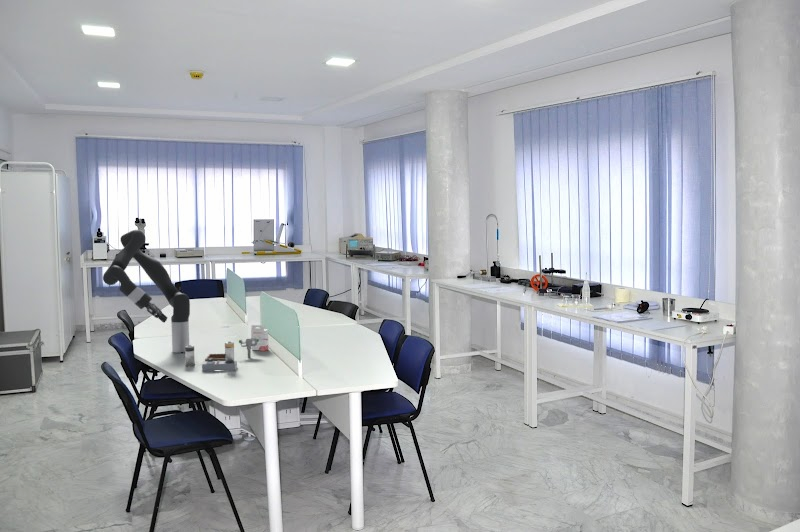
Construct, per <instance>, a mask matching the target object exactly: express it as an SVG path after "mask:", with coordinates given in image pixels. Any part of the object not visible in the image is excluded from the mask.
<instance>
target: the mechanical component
mask: <svg viewBox="0 0 800 532" xmlns="http://www.w3.org/2000/svg"><path fill="white" fill-rule="evenodd" d="M252 341H254V343H252ZM257 342H259V339H257V338H252V339H251V338H246V339H245V341H243V340H242V339H239V340H238V343H239V344H240V346H241V348H246V350H247V358H248V357H250V358H251V356H252V355H251V351H252V346H256V345H257Z"/></svg>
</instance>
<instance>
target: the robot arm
mask: <svg viewBox="0 0 800 532" xmlns="http://www.w3.org/2000/svg"><path fill="white" fill-rule="evenodd" d="M120 243H121V245H122V247H123V248H122V249H121V250H120V251H119V252H118V253H117V254H116V255H115V257H114V259H113V260H112V263H110V266H109V267H108V268H107V269H106V271H105V272H104V273H103V276H102V279H103V283H104V284H106V285H108V286H113V285H116V284H117V283H118V282H119V284H120V286H119V288H118V289H119V291H120V293H122V294H123V295H125V296H126V297H127V298H128V300H130V302H132V303H133V304H134V305H136V306H137V307H138V308H139V309H140V310H143V309H144V308H146V311H147V313H149V314H151V315H152V316H154V319H155V318H156V319H158V320H160V321H161V322H162V323H166V322H167V319H168V316H167V315H165V314H164V313H163V312H162V310H161V309H160V308H159V307H158V306H157V305H156V304H155V303H152V302H151V301H152V299H153V298H152V297H151V296H150V295H149V294H148V293H147V292H145V291H144V290H143V289H142V288H141V287H139V286H138V285H137V284H136V283H134V282H133V281H132V280H131V279H130V277H129V275H128V274H127V272H126V271H125V270H126V269H127V267H128V265H129V264H130V262H131V261H132V258H133V259H134V260H135V261H136V262H137V263H138V265H140V267H141V268H142V270H144V272H145V273H146V275H147V276H148V278H149V279H150V280H151V281H152V282H153V284H154V285H156V287H157V288H158V289H159V290H160V292H162V295H163V296H165V299H166V301H167V302H168V303H169V305H170V306H171V307H172V315H171V318H170V319H171V320H170V321H171V345H172V347H171V351H172V353H175V354H176V353H177V354H181V352H183V353H185V346H188V345H190V321H189V319H190V315H191V312H190V311H191V310H190V309H191V308H190V307H191V301H190V297H189V296H188V294H186V293H182V292H181V291H180V290H179V289H178V288H177V287H176V286H175V285H174V283H173V282H172V279H171V278H170V274H169V273H168V271H167V270H166V268H165V267H164V265H163V264H162V262H160V261H159V260H157V259H156V258H154V257H151V256H149V255H148V254H145V253H144V252H143V251H142V250H141V248H142V246H143V245H145V243H146V235H145V233H144V232H143V231H142V230H140V229H133V230H131V231H129V232H127V233H124V234H122V235H121V237H120Z"/></svg>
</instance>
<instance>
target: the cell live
mask: <svg viewBox="0 0 800 532" xmlns="http://www.w3.org/2000/svg"><path fill="white" fill-rule="evenodd" d="M224 354H225V363H234V361H235V342H234V341H226V342H224Z"/></svg>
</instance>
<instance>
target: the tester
mask: <svg viewBox="0 0 800 532" xmlns="http://www.w3.org/2000/svg"><path fill="white" fill-rule="evenodd" d="M201 367H202V369H201V371H202V372H215V371H214V370H235V371H236V370H237V368H238V361H237V360H234V363H225V361H214V364H207V361H205V360H204V361H203V363H202V364H201Z"/></svg>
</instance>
